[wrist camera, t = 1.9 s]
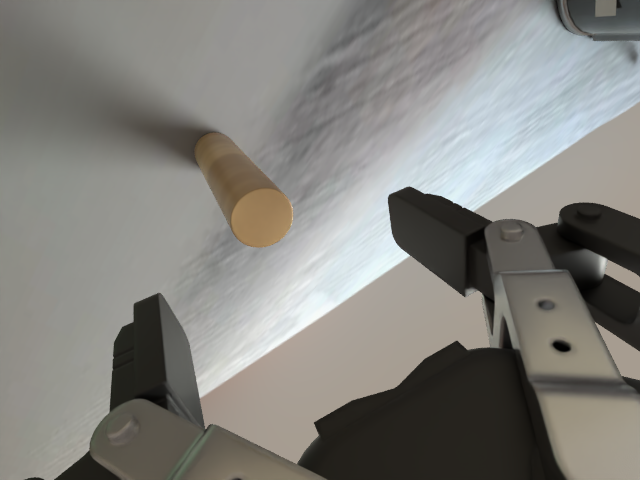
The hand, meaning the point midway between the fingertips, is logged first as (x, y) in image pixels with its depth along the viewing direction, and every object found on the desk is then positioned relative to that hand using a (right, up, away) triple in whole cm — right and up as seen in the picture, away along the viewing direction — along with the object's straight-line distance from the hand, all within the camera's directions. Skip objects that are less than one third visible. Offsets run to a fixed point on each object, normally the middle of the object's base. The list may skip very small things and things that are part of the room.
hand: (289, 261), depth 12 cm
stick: (-5, +6, +10) cm, 13 cm away
